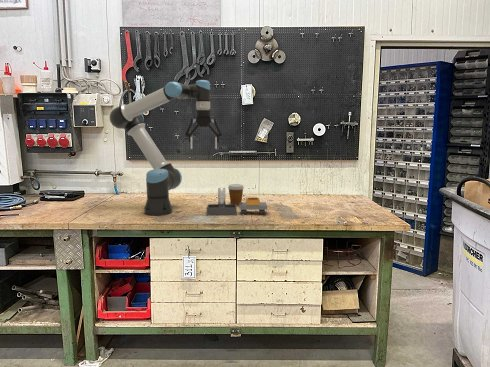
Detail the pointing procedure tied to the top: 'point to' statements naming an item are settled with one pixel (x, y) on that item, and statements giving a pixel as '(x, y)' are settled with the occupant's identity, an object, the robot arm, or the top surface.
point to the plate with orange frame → (252, 205)
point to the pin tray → (221, 209)
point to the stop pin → (221, 197)
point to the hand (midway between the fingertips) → (203, 148)
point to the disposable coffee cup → (235, 193)
